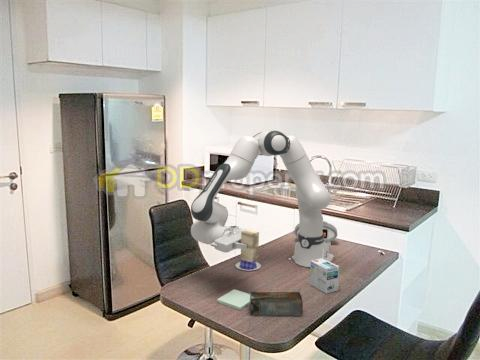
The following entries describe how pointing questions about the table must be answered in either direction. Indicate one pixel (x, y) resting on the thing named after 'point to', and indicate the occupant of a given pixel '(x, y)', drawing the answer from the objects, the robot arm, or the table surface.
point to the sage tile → (235, 299)
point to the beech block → (250, 245)
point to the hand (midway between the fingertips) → (251, 244)
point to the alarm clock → (327, 229)
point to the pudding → (247, 265)
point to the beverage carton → (276, 303)
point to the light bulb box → (324, 275)
